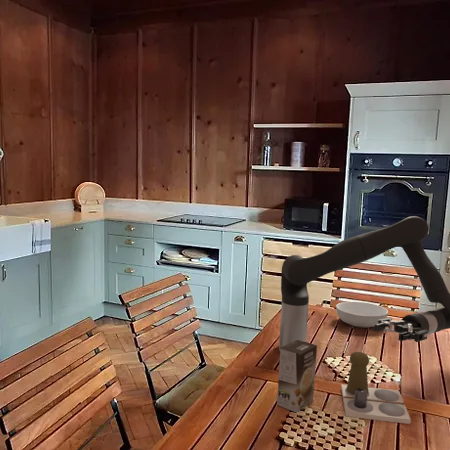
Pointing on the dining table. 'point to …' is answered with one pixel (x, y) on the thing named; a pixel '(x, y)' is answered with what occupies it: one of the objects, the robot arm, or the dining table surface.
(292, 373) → the coffee box
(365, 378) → the pepper mill
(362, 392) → the pin
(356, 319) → the serving bowl
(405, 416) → the board
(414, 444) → the dining table surface
